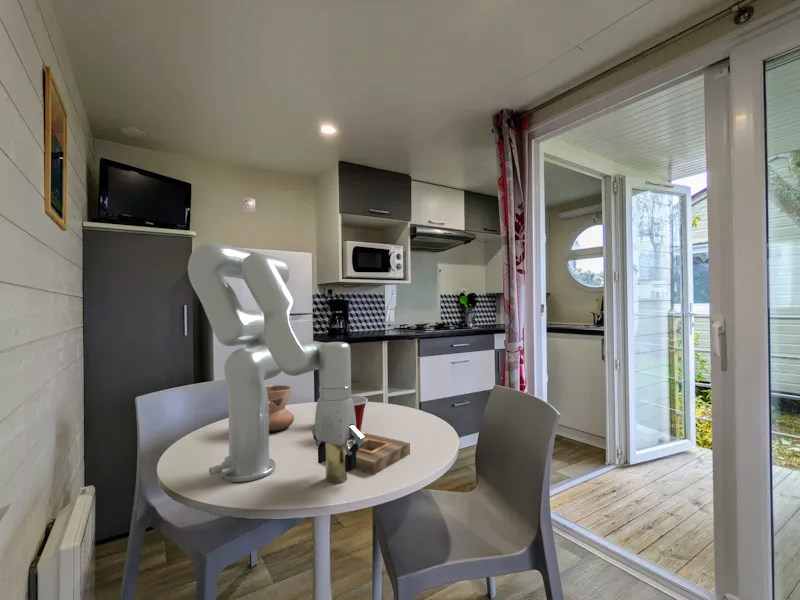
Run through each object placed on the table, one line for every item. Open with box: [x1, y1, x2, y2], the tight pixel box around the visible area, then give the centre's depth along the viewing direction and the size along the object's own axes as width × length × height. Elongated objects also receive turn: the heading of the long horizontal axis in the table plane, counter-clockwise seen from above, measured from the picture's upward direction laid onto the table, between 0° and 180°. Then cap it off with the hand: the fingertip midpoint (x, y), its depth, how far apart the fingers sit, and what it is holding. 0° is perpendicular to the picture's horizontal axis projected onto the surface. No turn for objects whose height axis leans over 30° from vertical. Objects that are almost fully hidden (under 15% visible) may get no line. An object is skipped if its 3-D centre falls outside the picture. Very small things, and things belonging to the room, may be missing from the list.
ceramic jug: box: [265, 384, 295, 433], centre depth 131 cm, size 18×14×14 cm
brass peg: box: [325, 442, 348, 485], centre depth 90 cm, size 5×5×10 cm
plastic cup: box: [351, 394, 369, 433], centre depth 122 cm, size 11×11×12 cm
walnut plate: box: [348, 432, 411, 475], centre depth 103 cm, size 16×16×3 cm
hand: (336, 465), depth 90 cm, fingers open, 8 cm apart
